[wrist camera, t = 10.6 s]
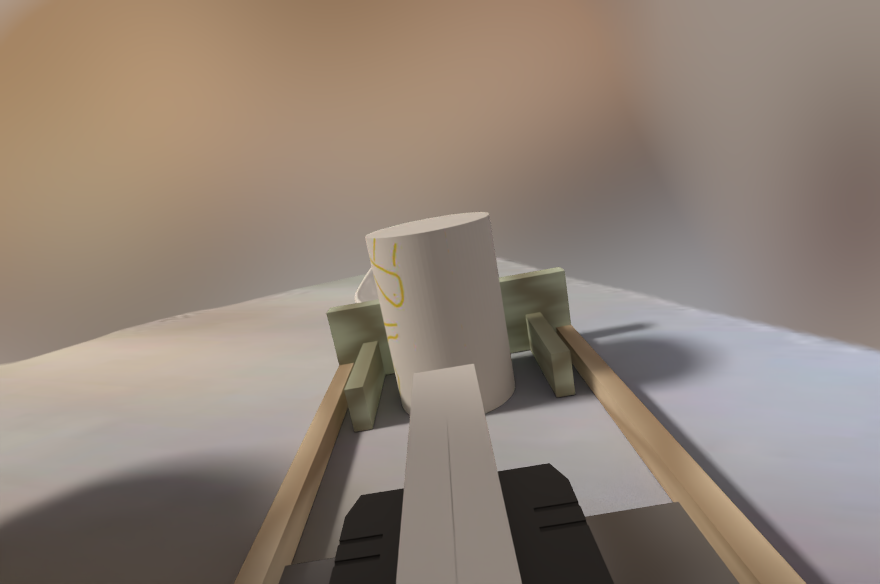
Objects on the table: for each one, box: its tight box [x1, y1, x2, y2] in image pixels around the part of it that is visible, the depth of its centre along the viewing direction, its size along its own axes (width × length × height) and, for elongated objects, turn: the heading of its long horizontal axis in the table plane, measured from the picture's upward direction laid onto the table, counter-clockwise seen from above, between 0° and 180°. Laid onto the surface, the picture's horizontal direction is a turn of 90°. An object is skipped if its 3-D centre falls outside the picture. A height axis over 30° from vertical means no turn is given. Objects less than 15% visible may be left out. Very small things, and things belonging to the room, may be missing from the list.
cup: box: [365, 212, 515, 415], centre depth 32 cm, size 8×8×12 cm
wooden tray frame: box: [234, 267, 806, 584], centre depth 25 cm, size 19×30×6 cm, turn 1°
